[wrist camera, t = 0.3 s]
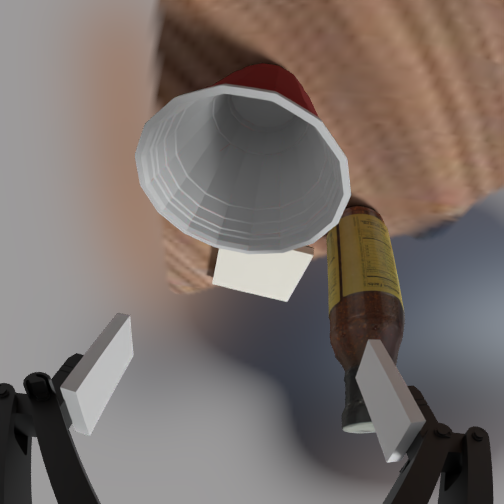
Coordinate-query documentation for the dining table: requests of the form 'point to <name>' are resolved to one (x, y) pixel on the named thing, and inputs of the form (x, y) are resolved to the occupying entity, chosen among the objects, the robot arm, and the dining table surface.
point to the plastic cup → (245, 164)
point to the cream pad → (262, 271)
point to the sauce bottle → (361, 301)
